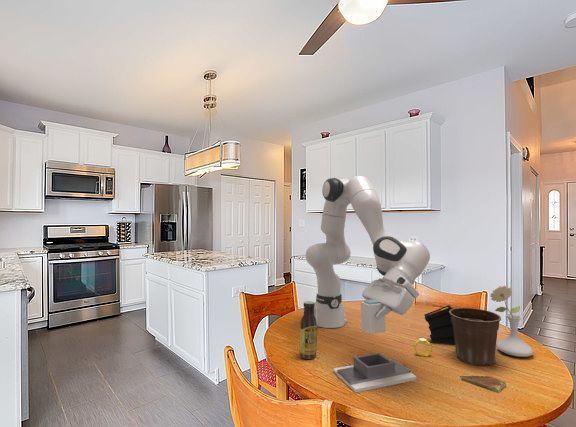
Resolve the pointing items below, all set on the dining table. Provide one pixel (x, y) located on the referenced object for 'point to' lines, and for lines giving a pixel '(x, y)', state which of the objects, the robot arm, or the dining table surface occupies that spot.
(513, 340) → the flower in vase
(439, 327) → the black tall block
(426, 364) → the dining table surface
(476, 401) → the dining table surface
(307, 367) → the dining table surface
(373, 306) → the module block
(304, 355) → the sauce bottle
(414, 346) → the watch
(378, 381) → the rail holder
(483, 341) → the plant pot
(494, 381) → the shard
